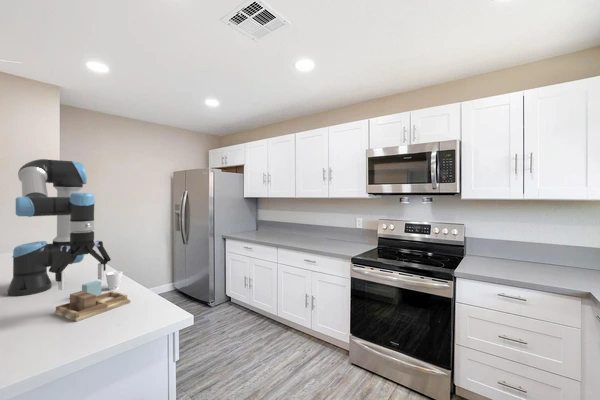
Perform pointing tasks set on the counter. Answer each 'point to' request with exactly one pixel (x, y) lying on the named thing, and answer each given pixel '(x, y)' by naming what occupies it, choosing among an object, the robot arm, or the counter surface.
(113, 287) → the cup
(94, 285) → the pale teal block
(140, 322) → the counter surface
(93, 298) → the brown wooden block
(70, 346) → the counter surface
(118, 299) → the tray
